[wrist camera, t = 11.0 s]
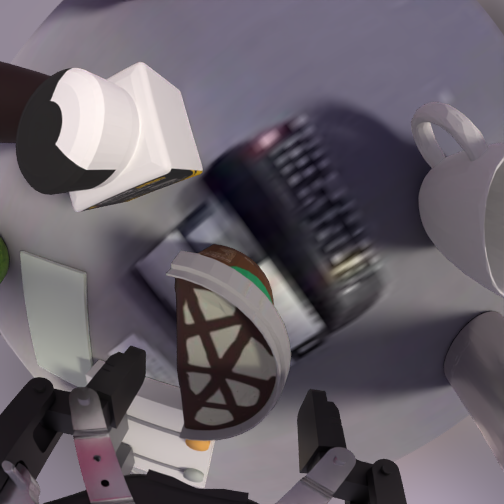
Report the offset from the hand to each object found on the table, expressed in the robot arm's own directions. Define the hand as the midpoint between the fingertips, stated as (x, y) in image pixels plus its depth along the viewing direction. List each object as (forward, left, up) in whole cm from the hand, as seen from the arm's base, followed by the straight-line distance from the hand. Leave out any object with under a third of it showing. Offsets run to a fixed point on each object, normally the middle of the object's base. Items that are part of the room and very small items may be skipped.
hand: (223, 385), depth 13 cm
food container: (0, +1, -11) cm, 11 cm away
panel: (+7, +20, -11) cm, 23 cm away
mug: (-13, -12, -11) cm, 21 cm away
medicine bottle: (+10, -10, -11) cm, 18 cm away
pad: (+20, +10, -11) cm, 25 cm away
